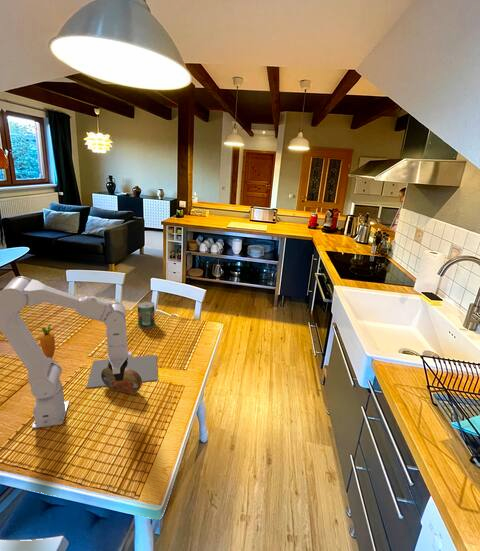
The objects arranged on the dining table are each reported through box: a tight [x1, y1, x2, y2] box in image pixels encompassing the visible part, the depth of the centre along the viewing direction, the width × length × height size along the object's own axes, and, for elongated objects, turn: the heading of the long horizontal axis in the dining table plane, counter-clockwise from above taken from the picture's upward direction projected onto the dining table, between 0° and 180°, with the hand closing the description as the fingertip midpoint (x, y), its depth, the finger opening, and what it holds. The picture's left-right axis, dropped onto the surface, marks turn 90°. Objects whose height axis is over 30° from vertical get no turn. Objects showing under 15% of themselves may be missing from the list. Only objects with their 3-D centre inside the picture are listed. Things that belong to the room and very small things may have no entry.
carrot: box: [39, 324, 56, 359], centre depth 119 cm, size 5×5×15 cm
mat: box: [86, 354, 159, 389], centre depth 118 cm, size 16×24×1 cm, turn 106°
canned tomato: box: [136, 300, 156, 330], centre depth 150 cm, size 8×8×11 cm
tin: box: [101, 367, 143, 395], centre depth 107 cm, size 15×3×8 cm, turn 73°
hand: (119, 378), depth 100 cm, fingers closed
